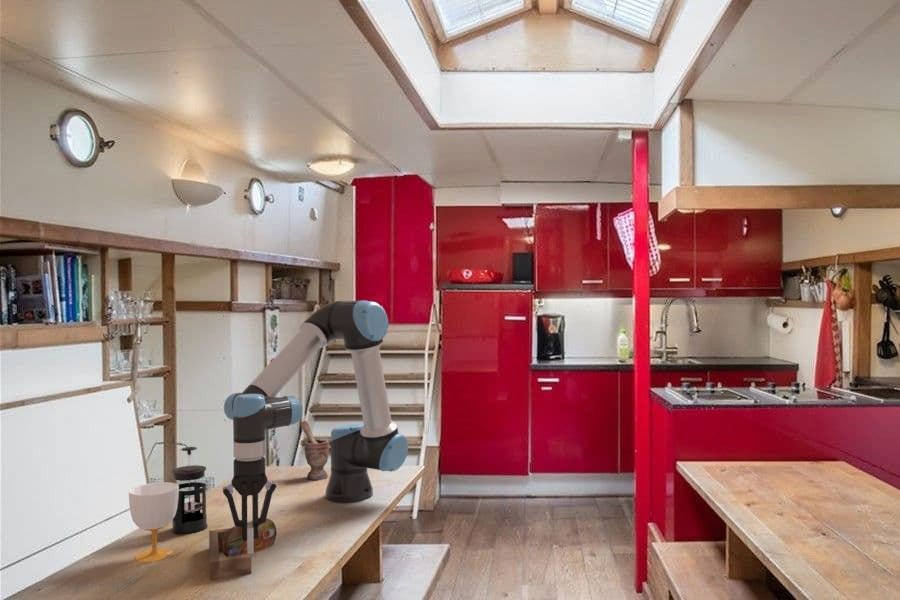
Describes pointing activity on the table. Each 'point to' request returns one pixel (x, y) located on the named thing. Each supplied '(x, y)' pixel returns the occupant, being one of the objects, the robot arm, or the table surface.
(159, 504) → the cup
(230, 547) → the tin
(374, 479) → the table surface
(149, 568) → the table surface
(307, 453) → the mortar and pestle
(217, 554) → the shelf
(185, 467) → the french press
